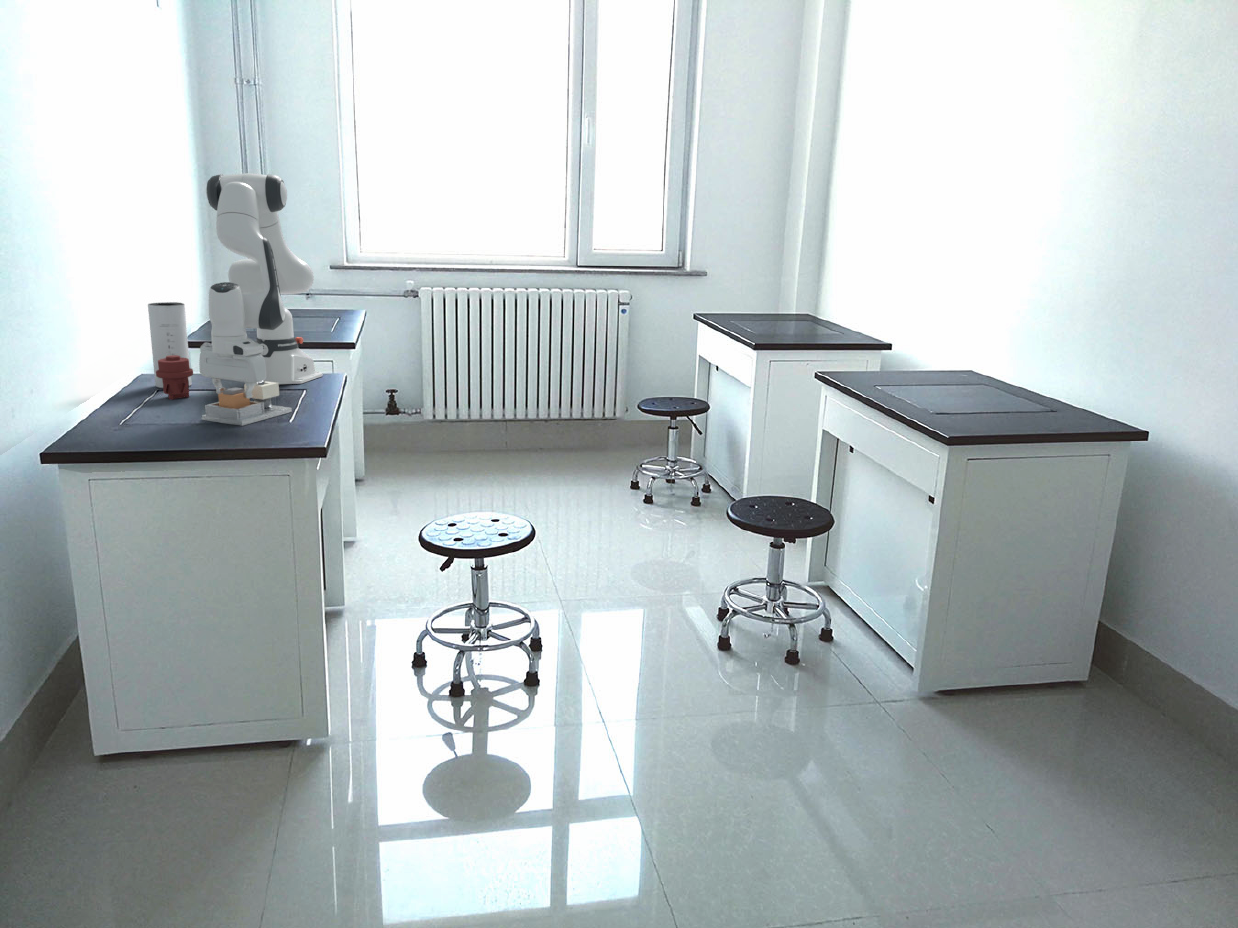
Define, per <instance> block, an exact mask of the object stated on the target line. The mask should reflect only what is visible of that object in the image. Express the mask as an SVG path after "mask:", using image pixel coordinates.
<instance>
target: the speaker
mask: <svg viewBox="0 0 1238 928" xmlns="http://www.w3.org/2000/svg"><path fill="white" fill-rule="evenodd" d="M147 309H148V321H149V329H150V330H149V331H150V343H151V344H150V345H151V353H152V363H153V373H154V374H153V375H154V384H155V387H156V388H157V389H163V381H162V378H158V377H157V376H156V371H157V370H159V367H158V360H160V359H164V358H166V356H170V355H179V356H180V358H187V359H189V360H190V353H189V352H190V351H189V342H188V333H187V331H188V330H187V328H188V327H187V319H186V307H185V303H183V302H178V301H177V302H175V301H173V302H171V301H170V302H169V301H168V302H152V303H148V304H147ZM190 364H191V363H190V361H189V366H190V367H191V365H190ZM188 381H189V387H190V386H191V385H192V376H190V377H188Z"/></svg>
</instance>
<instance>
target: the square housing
mask: <svg viewBox="0 0 1238 928" xmlns="http://www.w3.org/2000/svg"><path fill="white" fill-rule="evenodd" d="M279 386H280V384H279V383H275V382H267V381H265V384H264V385H258V383H255V386H254V388H253V391H252V398H251V399H254V398H255V399H267V398H271V399H272V398H275V397H278V396H280V387H279ZM243 387H244V388H243V389H244V391H246V388H247V386H245V383H244V385H243Z"/></svg>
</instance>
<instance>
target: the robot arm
mask: <svg viewBox="0 0 1238 928" xmlns="http://www.w3.org/2000/svg"><path fill="white" fill-rule="evenodd" d="M205 189H206V190H205V193H206V194H205V195H206V198H207V200H208V204H209V206H210V207H212V209H214V210H215V211H216V220H215V221H216V222H215V225H216V235H217V239H218V240H219V242H220V243H221V244H222V246H223V247H224V248H226V249H227V250H228V251H230V252H232V253H233V254H236V255H239V256H242V257H244V258H245V259H239V260H235V261H233V262H232V263H231V265H230V266H229V269H228V272H227V273H228V274H227V277H228V281H229V282H225V281H223V282H219V283H214V284H212V285H211V286H210V287H209V291H208V316H209V321H210V324H211V331H210V337H211V343H210V342H207V341H206V342H203V344H202V345H200V349H199V351H200V352H199V353H200V354H199V361H198V363H199V364H198V365H199V366H198V367H199V374H200V375H201V377H205V378H211V383H212V384H213V386H214V387H215V392H216V394H217V395H218V394H221V393H223V390H226V388H225V386H224V387H223V385H222V382H221V381H222V380H228V381H234V382H242V383H244V384H245V386H247V388H246V391H245V390H244V392H243V397H244V398H250V399H253V398H252V391H253V388H254V386H255V383H260V382H264V380H265V381H267V382H275V383H279V385H292V384H293V385H294V384H295V385H296V384H297V385H299V384H300V385H301V384H305V383H307V382H310V381H312V380H315V379H319V378H321V377H323V372H320V371H317V370H316V367H315V361H314V359H313V358H312V357H311V356H310V355H309V354H307V353H306V352H304V351H303V350H302V349H300V348H299V344H302V345H303V344H304V343H303V342H304V339H303V337H302V336H301V337H299V336H297V337H295V336H294V322H293V315H292V313H291V311H290V310H289V309H288V308H286V307H285V305H284V302H283V299H282V296H281V295H297V294H299V295H300V294H302V293H307V292H309V290H310V289H311V288H312V287H313V284H314V279H315V278H314V277H315V276H314V272H313V269H312V268H311V266H310V265H309V263H307V262H306V261H304V260H302V259H301V258H299V257H298V256H297V255H296V254H295V253H294V252H293V251H292V250H291V249H290V248H289V246H288V244H287V243H286V240H285V239H284V238H285V237H284V234H283V231H282V227H281V222H280V216H279V211H282V210H283V209H284V208H285V207H286V204H287V200H288V190H287V187H286V184H285V181H284V180H283V179H282V178H281V177H280V176H278V175H276V174H270V173H268V174H261V173H252V172H251V173H248V172H245V173H234V174H233V173H232V174H222V173H221V174H216V175H212V176H211V177H210V178H209V179H208V180H207V181H206V188H205ZM246 329H256V336H257V337H256V340H253V339H251V338H250V337H248V335H247V330H246Z"/></svg>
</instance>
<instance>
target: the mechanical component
mask: <svg viewBox="0 0 1238 928" xmlns="http://www.w3.org/2000/svg"><path fill="white" fill-rule="evenodd" d="M189 362H190V358H189V359H187V358H180V356H179V355H170V356H166V358H164V359H160V360H158V367H159V370H157V371H156V376H157V377H158V378H162V381H163V388H162V389H163V390H162V391H163V394H165V395H168V400H177V399H185V398H189V397H190V386H189V381H188V377H190V376H191V377H192V376H193V375H194V370H193V368H191V365H190V366H189Z"/></svg>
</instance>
